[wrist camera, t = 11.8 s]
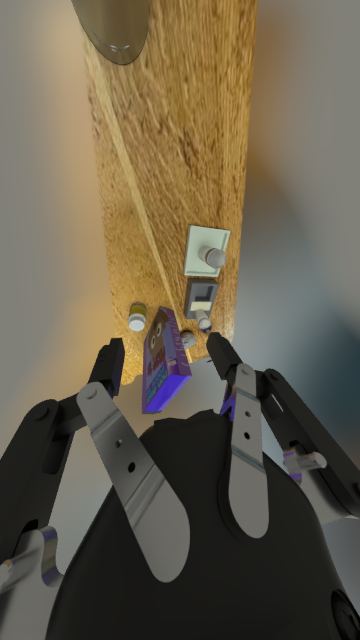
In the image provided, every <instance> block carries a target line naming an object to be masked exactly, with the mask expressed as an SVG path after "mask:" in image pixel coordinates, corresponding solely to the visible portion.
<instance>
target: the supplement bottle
mask: <svg viewBox="0 0 360 640" xmlns="http://www.w3.org/2000/svg"><path fill="white" fill-rule="evenodd" d="M128 321H129V328H130V329H131V330H133V331H141V330H142V329H143V328H144V326H145V323H146V307H145V306H144V305H143V304H141V303H135V304H133V305H132V306H131V308H130V313H129V319H128Z"/></svg>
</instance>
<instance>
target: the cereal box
mask: <svg viewBox="0 0 360 640" xmlns="http://www.w3.org/2000/svg"><path fill="white" fill-rule="evenodd" d="M191 376H192V374H191V370H190V367H189V363H188V360H187V356H186V353H185V350H184V346H183V343H182V339H181V336H180V332H179V329H178V325H177V322H176V318H175V315H174V311H173V310H171V309H167V308H164V307H161V306H160V307H159V309H158V312H157V314H156V316H155V318H154V321H153V323H152V325H151V328H150V330H149V332H148V334H147V337H146V339H145V341H144V353H143V389H142V414H156V413H160V412H161V411H162V410H163V409H164V407H165V406H166V405H167V404H168V403H169V402H170V400H171V399H172V398H173V397H174V396H175V395H176V393H177V392H178V391H179V390H180V389H181V388H182V387H183V385H184V384H185V383H186V382H187V381H188V380H189V378H190V377H191Z"/></svg>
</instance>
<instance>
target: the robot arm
mask: <svg viewBox="0 0 360 640" xmlns="http://www.w3.org/2000/svg"><path fill="white" fill-rule="evenodd" d="M72 3H73V6H74V9H75V11H76V13H77V16H78V18H79V20H80V22H81V24H82V26H83V28H84V30H85V31H86V33H87V35H88V36H89V38H90V40H91V41H92V42H93V44H94V45H95V46H96V48H97V49H98V50H99V51H100V52H101V53H102V54H103V55H104V56H105V57H106V58H107V59H109V60H111V61H113V62H114V63H118V64H127V63H130V62H132V61H133V60H134V59H136V57H137V56H138V55H139V53H140V52H141V50H142V47H143V45H144V42H145V39H146V34H147V29H148V19H149V0H72ZM206 347H207V350H208V352H209V354H210V357H211V358H212V361H213V363H214V365H215V367H216V370H217V372H218V374H219V376H220V378H221V380H227V384H226V389H225V395H224V400H223V405H222V408H221V410H220V414H216V413H214V411H213V409H209V410H205V411H200V412H198V413H196V414H194V415H193V416H191V417H189V418H188V419H176V418H166V419H161V420H156V421H154V425H153V426H151V427H149V428H148V429H147V430H146V431H145V432H144V433H143V434H142V435H141V436H140V437H139V439H138V437H137V436H136V434H135V433H134V431H133V429H132V428H131V426H130V425H129V423H128V422H127V420H126V419H125V417H124V416H123V414H122V413H121V411H120V410H119V409H118V408H117V406H116V405H115V403H114V402H113V396H118V393H119V387H120V381H121V375H122V369H123V363H124V357H125V350H124V345H123V341H122V338H111V341H110V344H109V345H104V346H103V347H102V349H101V350H100V351H99V354H98V357H97V359H96V362H95V365H94V368H93V370H92V373H91V375H90V378H89V381H88V383H87V385H86V386H84V387H83V388H82V389H81V390H80V392H78V393H77V394H75V395H73V396H71V397H68V398H66V399H63V400H61V401H58V402H57V401H56V400H54V399H49V400H45V401H43V402H40V403H39V404H37V405H36V406H34V407H33V408H32V409H31V410H30V411H29V412H28V413H27V414H26V416H25V417H24V419H23V421H22V423H21V424H20V426H19V428H18V430H17V431H16V433H15V435H14V437H13V439H12V440H11V442H10V444H9V446H8V447H7V449H6V451H5V453H4V454H3V456H2V458H1V460H0V640H360V617H359V615H358V613H357V612H356V610H355V609H354V606H353V605H352V603H351V601H350V599H349V597H348V595H347V594H346V591H345V589H344V587H343V585H342V583H341V580H340V578H339V576H338V573H337V571H336V568H335V566H334V563H333V561H332V558H331V555H330V553H329V549H328V547H327V543H326V541H325V537H324V533H323V530H322V527H321V525H324V524H327V523H330V522H333V521H336V520H338V519H341V518H344V517H347V518H356V519H360V471H359V470H358V468H357V467H356V466H355V465H354V464H353V462H352V461H351V460H350V458H349V457H348V456H347V455H346V454H345V452H344V451H343V450H342V449H341V447H340V446H339V445H338V444H337V443H336V441H335V440H334V439H333V438H332V436H331V435H330V434H329V433H328V431H327V430H326V429H325V428H324V427H323V425H322V424H321V423H320V422H319V420H318V419H317V418H316V417H315V415H314V414H313V413H312V412H311V410H310V409H309V408H308V407H307V406H306V404H305V403H304V402H303V401H302V399H301V398H300V397H299V396H298V394H296V392H295V391H294V390H293V388H292V387H291V386H290V385H289V383H288V382H287V381H286V380H285V378H284V377H283V376H282V375H281V374H280V373H279V372H278V371H276V370H274V369H266V370H265V371H264V372H262V371H257V370H253V368H251V367H250V366H249V365H247V364H244V363H243V362H242V360H241V359H240V357H239V356H238V354H237V353H236V352H235V350H234V349H233V347H232V346H231V344H230V343H229V341H228V340H227V339H226V338H224V337H222V336H221V335H220V333H219V332H211V333H210V334H209V337H208V340H207V344H206ZM272 394H273V395H274V397H275V398H276V400H277V401H278V402H279V404H280V405H281V407H282V409H283V412H282V410H281V409H280V407H279V406H278V404H277V403H276V401H275V400H274V398H273V397H272ZM261 412H262V413H263V415H264V417H265V419H266V421H267V423H268V425H269V426H270V428H271V430H272V432H273V434H274V435H275V437H276V439H277V441H278V443H279V445H280V446H281V448H282V450H283V456H284V461H283V464H284V467H285V469H286V470H287V471H288V472H289V475H288V474H287V473H286V472H285V471H284V470H283V469H282V468H281V467H279V466H278V465H277V464H276V463H275V462H274V461H273V460H272V459H271V458H270V457H269V456H268V455H266V454H265V453H264V452H263V451H262V433H261ZM86 425H88V426H89V429H90V431H91V437H92V439H93V442H94V444H95V446H96V448H97V450H98V453H99V454H100V457H101V459H102V461H103V463H104V466H105V468H106V469H107V472H108V474H109V476H110V479H111V481H112V483H113V485H112V487H111V489H110V491H109V492H108V494H107V496H106V498H105V500H104V502H103V504H102V505H101V507H100V509H99V511H98V513H97V515H96V516H95V518H94V520H93V522H92V524H91V525H90V527H89V529H88V531H87V533H86V534H85V536H84V538H83V540H82V542H81V544H80V545H79V547H78V549H77V551H76V553H75V555H74V556H73V558H72V560H71V562H70V564H69V566H68V568H67V570H66V572H65V575H63V574H61V573H60V572H59V571H58V569H57V566H56V549H57V541H58V537H57V532H56V530H55V528H54V527H52V526H48V523H49V519H50V516H51V512H52V508H53V505H54V502H55V499H56V495H57V492H58V488H59V485H60V481H61V478H62V474H63V471H64V467H65V464H66V461H67V457H68V454H69V450H70V447H71V444H72V440H73V437H74V433H75V431H77V430H79V429H80V428H82V427H84V426H86Z"/></svg>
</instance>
